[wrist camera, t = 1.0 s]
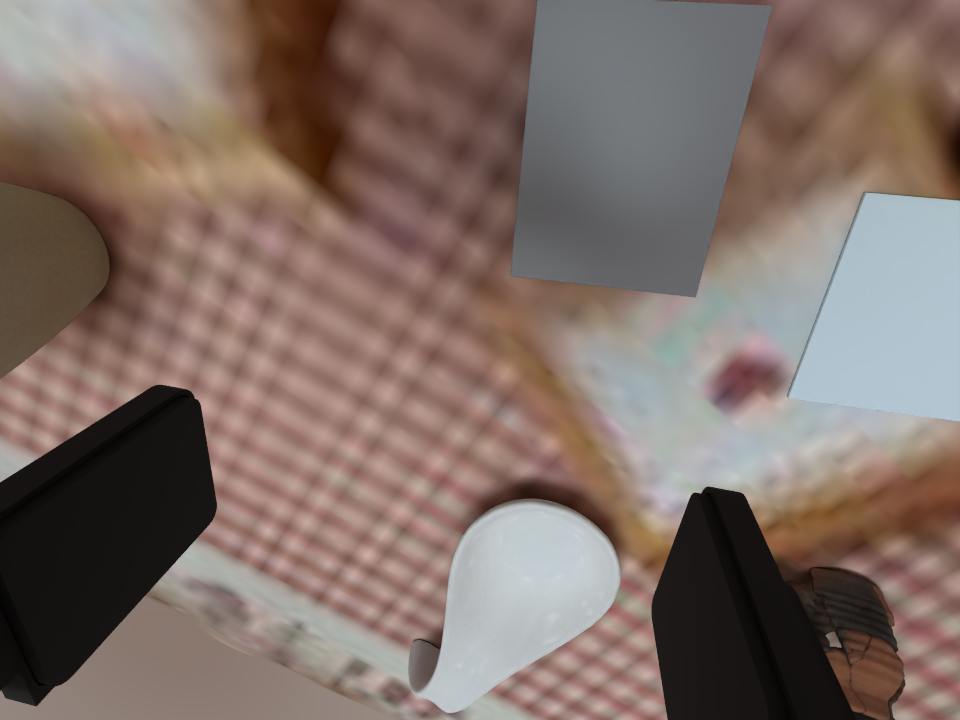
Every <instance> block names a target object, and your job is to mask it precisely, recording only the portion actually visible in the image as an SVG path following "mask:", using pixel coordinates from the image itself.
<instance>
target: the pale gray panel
mask: <svg viewBox="0 0 960 720" xmlns="http://www.w3.org/2000/svg"><path fill="white" fill-rule="evenodd" d="M787 397H788V398H791V399H799V400H806V401H813V402H821V403H828V404H835V405H843V406H850V407H857V408H865V409H872V410H879V411H887V412H894V413H901V414H909V415H916V416H924V417H931V418H938V419H946V420H953V421H960V201H959V200H948V199H937V198H925V197H914V196H902V195H891V194H879V193H868V192H864V194H863V197H862V199H861V202H860V204H859V207H858V210H857V212H856V215H855V218H854V220H853V223H852V226H851V228H850V231H849V234H848V236H847V239H846V241H845V244H844V247H843V249H842V252H841V255H840V257H839V260H838V263H837V265H836V268H835V271H834V273H833V276H832V279H831V281H830V284H829V286H828V289H827V292H826V294H825V297H824V300H823V302H822V305H821V308H820V310H819V313H818V316H817V318H816V321H815V324H814V326H813V329H812V331H811V334H810V337H809V339H808V342H807V345H806V347H805V350H804V353H803V355H802V358H801V361H800V363H799V366H798V369H797V371H796V374H795V376H794V379H793V382H792V384H791V387H790V390H789V392H788V395H787Z"/></svg>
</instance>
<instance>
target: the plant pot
mask: <svg viewBox="0 0 960 720" xmlns="http://www.w3.org/2000/svg"><path fill="white" fill-rule="evenodd" d="M109 272H110V263H109V256H108V251H107V248H106V246H105V243H104V241H103V239H102V237H101V235H100V233H99V232H98V230H97V228H96V227H95V226H94V224H93V223H92V222H91V221H90V219H89V218H88V217H87V216H86V215H85V214H84V213H83V212H82V211H81V210H79V209H78V208H77V207H75V206H74V205H73V204H71V203H69V202H68V201H66V200H64V199H62V198H60V197H57V196H54V195H50V194H47V193H43V192H40V191H36V190H32V189H29V188H25V187H21V186H17V185H13V184H8V183H4V182H0V379H1V378H2V377H4V376H5V375H6V374H8V373H9V372H10V371H12V370H13V369H14V368H16V367H17V366H18V365H20V364H21V363H22V362H24V361H25V360H26V359H27V358H29V357H30V356H31V355H33V354H34V353H35V352H36V351H38V350H39V349H40V348H41V347H43V346H44V345H45V344H46V343H47V342H49V341H50V340H51V339H52V338H53V337H54V336H56V335H57V334H58V333H59V332H60V331H61V330H63V329H64V328H65V327H66V326H67V325H68V324H69V323H70V322H71V321H72V320H74V319H75V318H76V317H77V316H78V315H79V314H80V313H81V312H82V311H83V310H84V309H85V308H86V307H87V306H88V305H89V304H90V303H91V302H92V300H93V299H94V298H95V297H96V296H97V295H98V294H99V293H100V292H101V291H102V290H103V288H104V287H105V285H106V283H107V281H108V278H109Z"/></svg>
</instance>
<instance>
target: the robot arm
mask: <svg viewBox="0 0 960 720" xmlns="http://www.w3.org/2000/svg"><path fill="white" fill-rule="evenodd" d="M216 509H217V502H216V496H215V490H214V484H213V477H212V471H211V465H210V459H209V453H208V447H207V441H206V435H205V429H204V422H203V416H202V410H201V405H200V402H199V401H198V400H197V399H195V398H194V395H193V394H192V392H191V391H189V390H187V389H181V388H176V387H171V386H165V385H156V386H153V387H151V388H149V389H148V390H146V391H145V392H143V393H142V394H140V395H138V396H137V397H135V398H134V399H132V400H130V401H129V402H127V403H126V404H124V405H122V406H121V407H119V408H118V409H116V410H115V411H113V412H111V413H110V414H108V415H107V416H105V417H103V418H102V419H100V420H99V421H97V422H95V423H94V424H92V425H91V426H89V427H88V428H86V429H84V430H83V431H81V432H80V433H78V434H76V435H75V436H73V437H72V438H70V439H68V440H67V441H65V442H64V443H62V444H61V445H59V446H57V447H56V448H54V449H53V450H51V451H49V452H48V453H46V454H45V455H43V456H42V457H40V458H38V459H37V460H35V461H34V462H32V463H30V464H29V465H27V466H26V467H24V468H22V469H21V470H19V471H18V472H16V473H15V474H13V475H11V476H10V477H8V478H7V479H5V480H3V481H2V482H0V691H1V690H2V692H3V694H4V696H5V698H7V699H11V700H15V701H18V702H22V703H26V704H30V705H33V706H37V705H38V704H39V703H40V702H41V701H42V700H43V699H44V698H45V696H46V695H47V694H48V693H49V692H50V691H51V690H52V689H53V688H54V687H55V686H58V685H61V684H63V683H64V682H66V681H67V680H69V678H71V677H72V676H73V675H74V674H75V672H76V671H77V670H78V669H79V668H80V667H81V666H82V665H83V664H84V662H85V661H86V660H87V659H88V658H89V657H90V656H91V655H92V654H93V653H94V651H95V650H96V649H97V648H98V647H99V646H100V645H101V644H102V642H103V641H104V640H105V639H106V638H107V637H108V636H109V635H110V633H112V631H113V630H114V629H115V628H116V627H117V626H118V625H119V624H120V623H121V622H122V621H123V619H124V618H125V617H126V616H127V615H128V614H129V613H130V612H131V611H132V609H133V608H134V607H135V606H136V605H137V604H138V603H139V602H140V601H141V600H142V598H143V597H144V596H145V595H146V594H147V593H148V592H149V591H150V590H151V588H152V587H153V586H154V585H155V584H156V583H157V582H158V581H159V580H160V579H161V577H162V576H163V575H164V574H165V573H166V572H167V571H168V570H169V569H170V567H171V566H172V565H173V564H174V563H175V562H176V561H177V560H178V559H179V557H180V556H181V555H182V554H183V553H184V552H185V551H186V550H187V549H188V548H189V546H190V545H191V544H192V543H193V542H194V541H195V540H196V539H197V538H198V536H199V535H200V534H201V533H202V532H203V531H204V530H205V529H206V528H207V527H208V525H209V524H210V523H211V522H212V520H213V518H214V516H215V513H216ZM652 622H653V628H654V635H655V641H656V647H657V654H658V660H659V667H660V673H661V680H662V686H663V692H664V699H665V705H666V712H667V718H668V720H857V719H856V717H855V715H854V713H853V711H852V708H851V706H850V704H849V702H848V700H847V698H846V696H845V694H844V691H843V689H842V687H841V685H840V683H839V681H838V679H837V677H836V674H835V672H834V670H833V668H832V666H831V664H830V662H829V660H828V658H827V655H826V653H825V651H824V649H823V647H822V645H821V643H820V641H819V638H818V636H817V634H816V632H815V630H814V628H813V626H812V624H811V621H810V619H809V617H808V615H807V613H806V611H805V609H804V607H803V605H802V602H801V600H800V598H799V596H798V594H797V593H796V591H795V590H794V588H793V586H791V585H790V584H789V583H788V582H786V581H784V580H783V578H782V576H781V574H780V572H779V569H778V567H777V565H776V563H775V561H774V558H773V556H772V554H771V552H770V550H769V547H768V545H767V543H766V541H765V539H764V536H763V534H762V532H761V530H760V528H759V525H758V523H757V521H756V519H755V517H754V514H753V512H752V510H751V508H750V506H749V504H748V501H747V499H746V497H745V496H744V494H742V493H740V492H735V491H730V490H724V489H719V488H714V487H706V488H705V489H704V490H703V491H702V493H701V494H700V493H693V494H692V495H691V497H690V499H689V502H688V505H687V507H686V510H685V513H684V515H683V518H682V521H681V524H680V526H679V529H678V532H677V534H676V537H675V540H674V543H673V545H672V548H671V551H670V553H669V556H668V559H667V561H666V564H665V567H664V570H663V572H662V575H661V578H660V580H659V583H658V586H657V589H656V591H655V594H654V597H653V602H652Z"/></svg>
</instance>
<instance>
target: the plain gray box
mask: <svg viewBox="0 0 960 720" xmlns="http://www.w3.org/2000/svg"><path fill="white" fill-rule="evenodd" d="M771 10H772V6H766V5H745V4H723V3H701V2H679V1H658V0H537V9H536V19H535V29H534V40H533V50H532V60H531V70H530V80H529V91H528V101H527V111H526V121H525V131H524V142H523V152H522V162H521V172H520V182H519V193H518V203H517V213H516V223H515V233H514V243H513V254H512V264H511V274H510V276H515V277H523V278H532V279H541V280H549V281H558V282H567V283H575V284H584V285H593V286H602V287H610V288H619V289H628V290H636V291H645V292H654V293H662V294H671V295H680V296H688V297H696V294H697V290H698V286H699V283H700V279H701V275H702V271H703V267H704V264H705V260H706V256H707V252H708V248H709V245H710V241H711V237H712V233H713V229H714V226H715V222H716V218H717V214H718V211H719V207H720V203H721V199H722V195H723V192H724V188H725V184H726V180H727V176H728V173H729V169H730V165H731V161H732V157H733V154H734V150H735V146H736V142H737V139H738V135H739V131H740V127H741V123H742V120H743V116H744V112H745V108H746V104H747V101H748V97H749V93H750V89H751V85H752V82H753V78H754V74H755V70H756V67H757V63H758V59H759V55H760V51H761V48H762V44H763V40H764V36H765V32H766V29H767V25H768V21H769V17H770V13H771Z"/></svg>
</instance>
